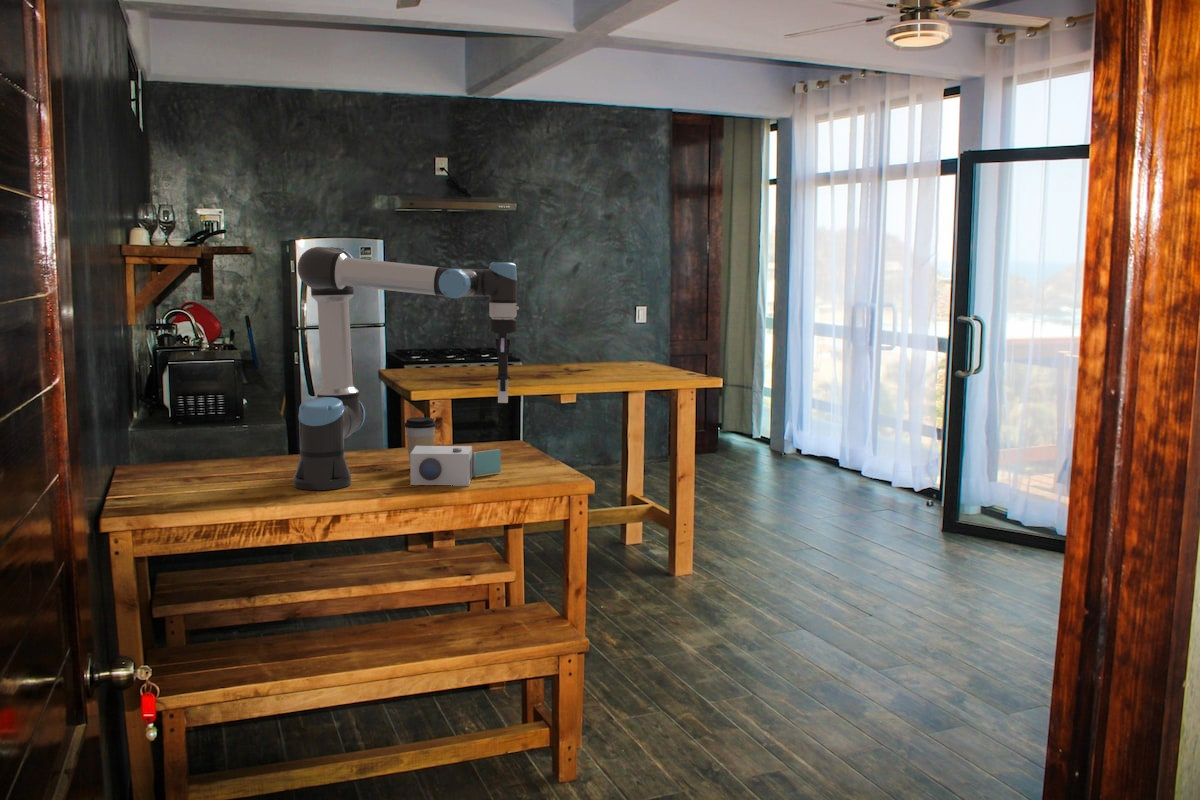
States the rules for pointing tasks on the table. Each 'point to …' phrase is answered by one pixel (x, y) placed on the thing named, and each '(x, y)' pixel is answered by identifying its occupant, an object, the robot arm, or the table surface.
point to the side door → (486, 462)
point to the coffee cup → (419, 432)
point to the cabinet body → (441, 465)
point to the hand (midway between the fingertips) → (502, 402)
